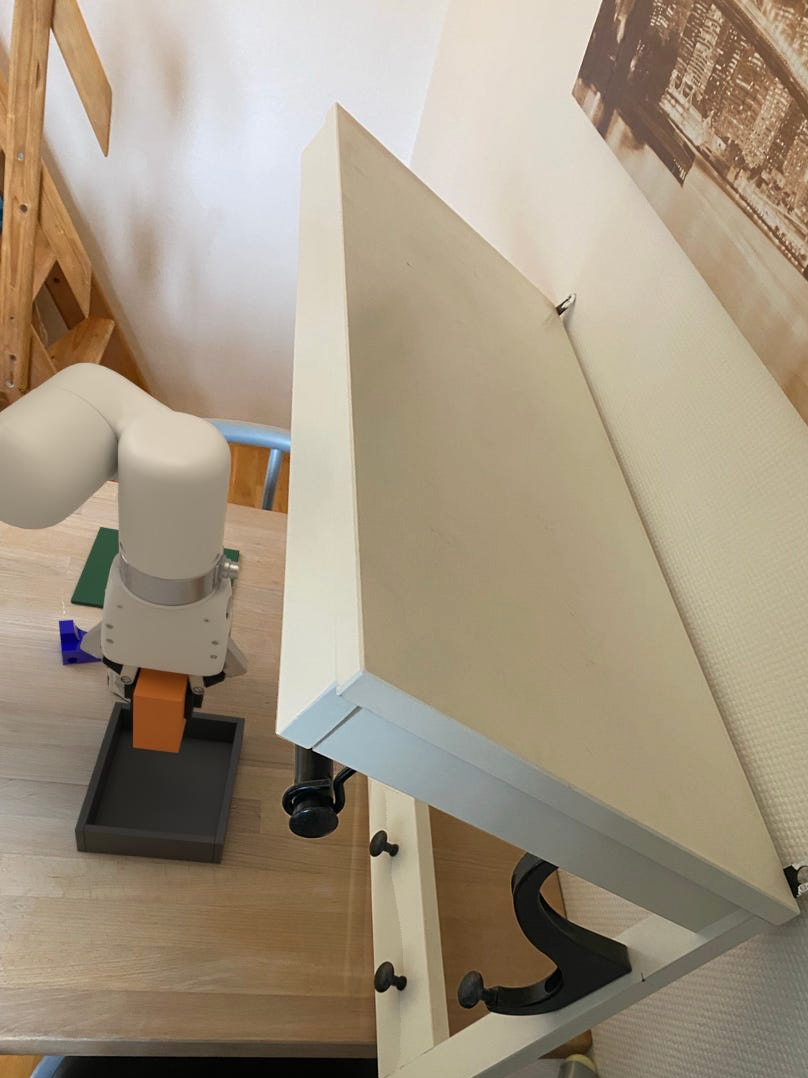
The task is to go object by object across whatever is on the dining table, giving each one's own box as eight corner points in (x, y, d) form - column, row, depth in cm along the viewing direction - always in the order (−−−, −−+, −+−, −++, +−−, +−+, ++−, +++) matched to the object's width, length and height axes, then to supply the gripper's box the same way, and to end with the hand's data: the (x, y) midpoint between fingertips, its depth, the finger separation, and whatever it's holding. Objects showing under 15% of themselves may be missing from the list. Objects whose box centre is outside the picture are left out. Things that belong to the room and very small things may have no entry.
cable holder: (63, 666, 97) (60, 643, 94) (61, 644, 99) (58, 620, 96) (138, 659, 100) (138, 637, 97) (134, 638, 102) (134, 615, 99)
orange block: (133, 747, 78) (133, 694, 73) (149, 689, 83) (151, 635, 77) (178, 753, 79) (181, 701, 74) (192, 695, 84) (196, 642, 78)
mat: (70, 603, 103) (70, 600, 103) (100, 529, 113) (100, 526, 112) (223, 626, 107) (223, 623, 107) (239, 553, 117) (239, 550, 116)
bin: (77, 853, 83) (74, 830, 80) (116, 725, 93) (115, 701, 90) (220, 865, 86) (223, 844, 83) (242, 741, 97) (245, 717, 94)
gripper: (283, 551, 71) (260, 687, 84) (70, 512, 67) (79, 660, 80) (273, 615, 66) (250, 749, 79) (41, 576, 62) (56, 724, 75)
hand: (164, 703), depth 79 cm, fingers closed on orange block, 4 cm apart
